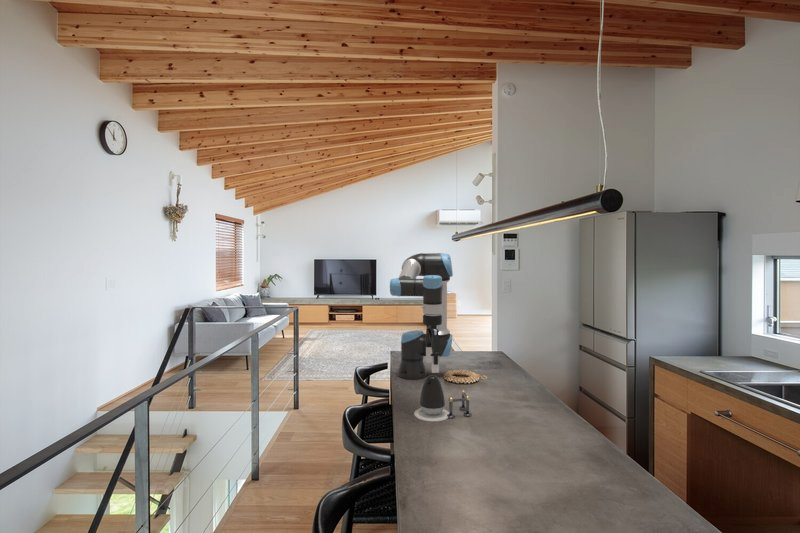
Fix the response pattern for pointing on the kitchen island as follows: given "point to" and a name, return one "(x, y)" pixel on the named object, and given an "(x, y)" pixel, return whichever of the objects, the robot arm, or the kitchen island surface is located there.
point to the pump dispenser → (432, 396)
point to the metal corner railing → (463, 399)
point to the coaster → (431, 416)
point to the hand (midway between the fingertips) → (432, 367)
